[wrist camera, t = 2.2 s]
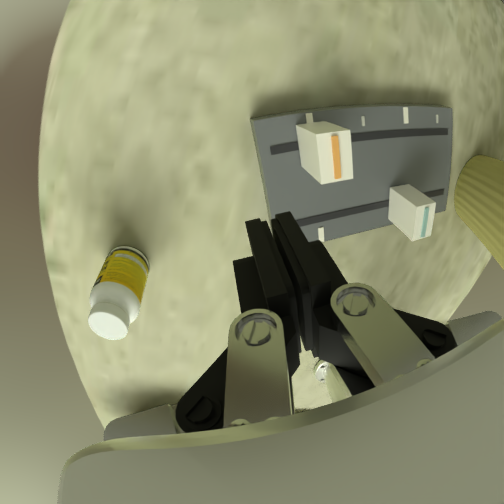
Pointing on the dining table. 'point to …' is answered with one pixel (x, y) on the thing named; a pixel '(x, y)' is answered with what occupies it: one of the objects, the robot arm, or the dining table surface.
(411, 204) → the fader
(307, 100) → the dining table surface
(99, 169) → the dining table surface
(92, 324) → the supplement bottle
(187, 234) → the dining table surface
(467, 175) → the potted cactus
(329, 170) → the block
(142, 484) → the robot arm
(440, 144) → the console
